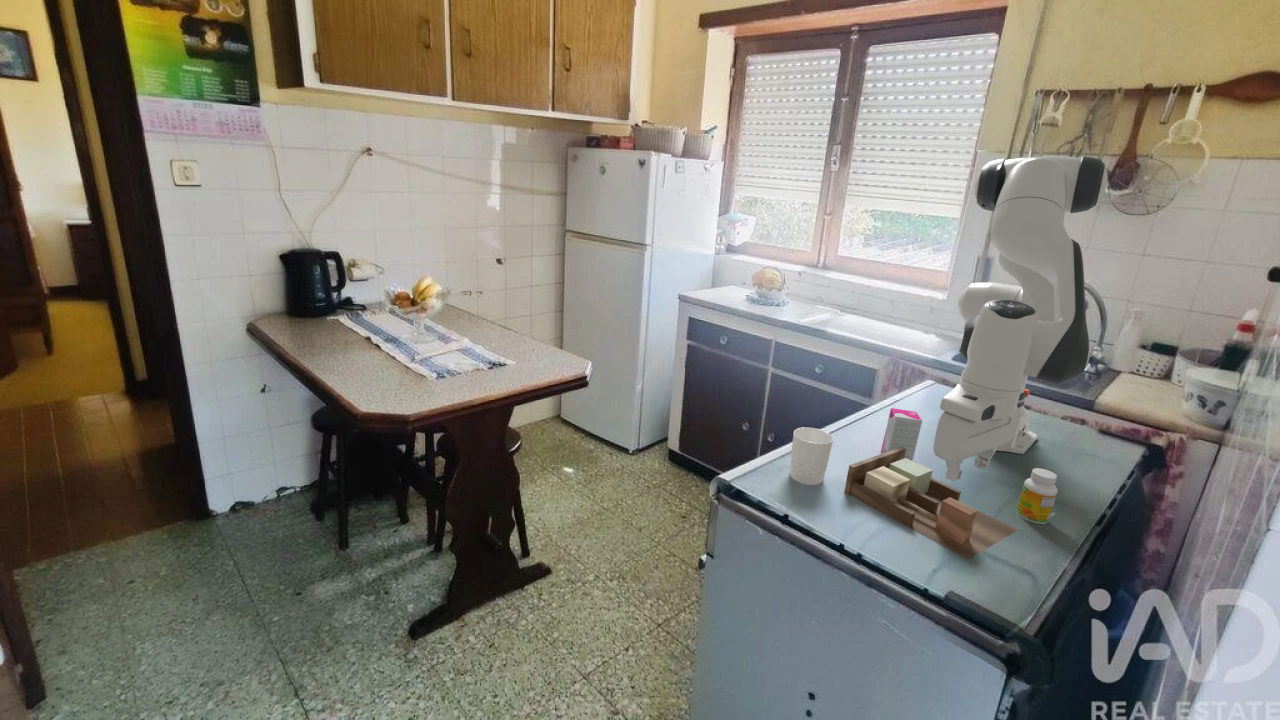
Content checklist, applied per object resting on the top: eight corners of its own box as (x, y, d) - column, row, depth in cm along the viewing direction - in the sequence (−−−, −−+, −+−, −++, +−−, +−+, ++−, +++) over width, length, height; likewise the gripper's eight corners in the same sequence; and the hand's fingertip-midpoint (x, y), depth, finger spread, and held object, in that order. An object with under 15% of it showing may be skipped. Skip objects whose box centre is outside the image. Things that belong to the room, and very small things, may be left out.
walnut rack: (896, 473, 129) (901, 446, 127) (1017, 531, 110) (1026, 501, 108) (843, 493, 119) (849, 465, 117) (967, 562, 100) (976, 529, 98)
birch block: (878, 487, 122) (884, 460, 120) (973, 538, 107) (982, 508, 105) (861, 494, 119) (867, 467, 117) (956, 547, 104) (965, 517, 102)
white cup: (804, 491, 119) (812, 446, 116) (779, 473, 126) (785, 430, 123) (833, 484, 123) (841, 440, 120) (807, 467, 130) (814, 425, 127)
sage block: (901, 479, 126) (905, 457, 125) (927, 492, 121) (932, 470, 120) (885, 485, 123) (890, 463, 121) (912, 498, 118) (917, 476, 117)
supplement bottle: (1009, 509, 118) (1021, 465, 115) (1034, 510, 118) (1047, 466, 115) (1028, 525, 112) (1041, 479, 109) (1054, 525, 113) (1069, 480, 110)
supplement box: (912, 467, 133) (923, 420, 129) (884, 463, 134) (894, 416, 130) (906, 456, 138) (916, 410, 135) (879, 452, 139) (889, 407, 136)
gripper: (997, 384, 107) (978, 453, 111) (935, 401, 96) (917, 477, 100) (1035, 395, 102) (1014, 468, 106) (974, 414, 91) (953, 495, 95)
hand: (966, 473), depth 103 cm, fingers open, 8 cm apart
